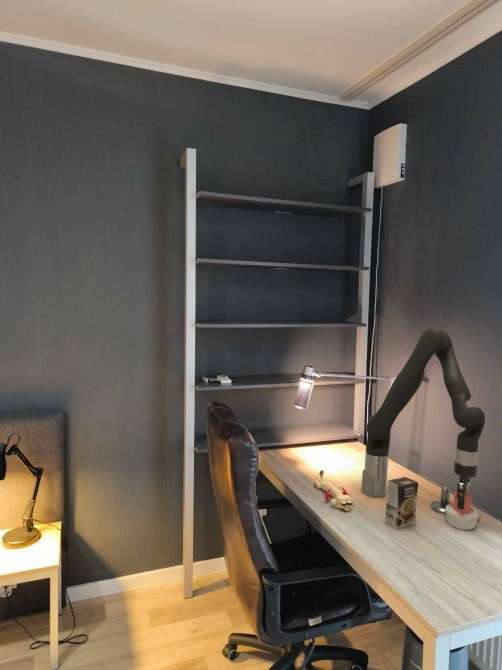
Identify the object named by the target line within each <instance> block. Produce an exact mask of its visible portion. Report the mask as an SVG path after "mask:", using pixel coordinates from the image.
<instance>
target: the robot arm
mask: <svg viewBox="0 0 502 670" xmlns="http://www.w3.org/2000/svg"><path fill="white" fill-rule="evenodd" d="M434 354H435V356H436V358H437V359H438V362H439V363H440V366H441V368H442V369H441V371H442V377H443V381H444V385H445V388H446V390H447V393H448V396H449V398H450V400H451V408H452V409H451V410H452V415H453V419H454V422H455V423H456V424H457V425H458V427H460V428H464V430H462V431H461V432H459V433H458V434H457V437H456V448H455V454H454V465H453V472H454V474H456V475H458V476H459V477H458V479H457V482H456V483H457V488H456V491H457V496H456V497H457V499H458V503H457V508H458V509H462V510H463V509H464V503H465V496H466V494H467V493H470V492H469V491H470V488H471V482H472V479H471V478H475V477H476V476H477V472H478V471H477V470H478V460H479V452H478V450H479V440H480V438H481V435H482V432H483V430H484V427H485V424H486V415H485V413H484V410H482V409H481V408H480V407H477V406H470V407H468V405H467V402H469V401H470V400H471V399H472V394H471V391H470V389H469V386H468V385H467V383H466V380H465V378H464V376H463V374H462V371H461V368H460V367H459V363H458V360H457V356H456V354H455V349H454V345H453V341H452V337H451V336H450V334H449V333H448V332H446V331H445V330H443V329H440V328H438V327H429V328H427V329H425V330H424V332H422V334H421V336H420V338H419V339H418V341H417V344H416V346H415V347H414V349H413V352H412V353H411V354H410V356H409V358H408V360H407V361H406V362H405V364H404V365H403V368H401V370H400V372H399V374H397V376H396V378H395V379H394V380H393V382H392V384H391V386H390V388H389V390H388V392H386V393H387V394H386V396H385V398H384V400H383V403H382V404H381V405H380V407H379V408H378V410H377V411H376V413H375V414H373V415H372V416H370V417H369V420H368V421H367V422H366V433H367V438H366V444H365V445H366V446H365V458H364V459H365V461H364V469H363V470H362V475H361V476H362V477H361V491H360V492H362V493H364V494H365V495H366V496H368V497H370V498H383V497H385V496H387V485H388V467H389V456H390V455H389V453H390V444H391V433H392V431H391V430H392V427H393V426H394V423H395V421H396V419H397V418H398V416H399V415H400V414H401V412H402V411H403V410H404V408H405V407H406V406H407V405H408V404H409V402H411V399H413V397H414V396H415V394H416V393H417V391H418V389H419V388H420V387H421V385H422V383H423V380H424V374H425V370H426V367H427V365H428V363H429V361H430V360H431V359H432V357H433V356H434ZM460 493H462V494H463V496H461V495H460Z"/></svg>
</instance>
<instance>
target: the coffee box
mask: <svg viewBox="0 0 502 670" xmlns="http://www.w3.org/2000/svg"><path fill="white" fill-rule="evenodd" d="M418 490H419V482H418V481H416V480H415V479H411V478H410V477H408V476H403V477H399V478H394V479H387V491H386V504H385V505H386V507H385V518H384V519H385V521H384V522H385V523H386V524H388V525H389V526H391V527H393V529H395V530H401V529H405V528H408V527H411V526H415V525H416V516H417V506H418V505H417V504H418V503H417V502H418V492H419V491H418Z"/></svg>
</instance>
